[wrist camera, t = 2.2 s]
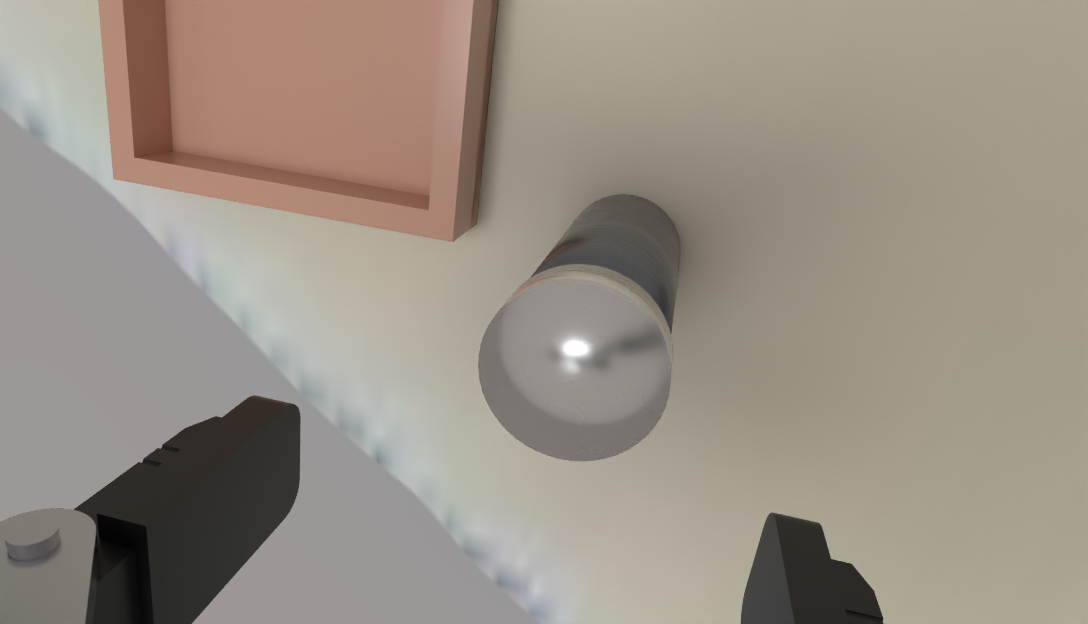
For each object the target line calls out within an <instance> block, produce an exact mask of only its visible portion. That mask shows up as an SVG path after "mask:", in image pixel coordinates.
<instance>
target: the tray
mask: <svg viewBox="0 0 1088 624" xmlns="http://www.w3.org/2000/svg"><path fill="white" fill-rule="evenodd" d="M98 2H99V14H100V26H101V37H102V49H103V61H104V73H105V84H106V96H107V108H108V120H109V131H110V143H111V155H112V167H113V178H114V179H116V180H122V181H127V182H132V183H138V184H143V185H149V186H154V187H159V188H165V189H170V190H176V191H181V192H186V193H192V194H197V195H203V196H208V197H213V198H219V199H224V200H230V201H235V202H240V203H246V204H251V205H257V206H262V207H267V208H273V209H278V210H284V211H289V212H294V213H300V214H305V215H311V216H316V217H322V218H327V219H332V220H338V221H343V222H349V223H354V224H359V225H365V226H370V227H376V228H381V229H386V230H392V231H397V232H403V233H408V234H413V235H419V236H424V237H430V238H435V239H440V240H446V241H451V242H453V241H454V240H456V239H457V238H458V237H460V236H461V235H462V234H464V233H465V232H467V231H468V230H469V229H471V228H472V227H473V226H475V225H476V222H477V212H478V202H479V192H480V182H481V172H482V161H483V151H484V141H485V131H486V121H487V111H488V101H489V90H490V80H491V70H492V60H493V50H494V40H495V29H496V19H497V9H498V0H98Z"/></svg>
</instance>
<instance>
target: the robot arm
mask: <svg viewBox="0 0 1088 624" xmlns="http://www.w3.org/2000/svg"><path fill="white" fill-rule="evenodd" d="M299 480H300V412H299V409H298V407H297V406H296V405H295V404H291V403H286V402H282V401H277V400H273V399H268V398H264V397H260V396H251V397H249V398H247V399H246V400H244V401H243V402H242V403H241V404H239V405H238V406H236V407H235V408H234V409H233V410H231V411H230V412H229V413H228V414H226V415H225V416H224V417H222V418H221V417H217V416H216V417H213V418H211V419H208V420H205V421H203V422H200V423H198V424H195V425H192V426H190V427H187V428H185V429H184V430H182V431H181V432H179V433H178V434H177V435H176V436H174V437H173V438H171V439H170V440H169V441H167V442H166V443H164V444H163V446H162V448H161V449H159V448H158V449H156V450H155V451H153V452H152V453H151V454H149V455H148V456H147V457H145V458H144V460H143V462H142V463H140V462H138V463H137V464H136V465H134V466H133V467H132V468H130V469H129V470H127V471H126V472H125V473H123V474H122V475H120V476H119V477H118V478H116V479H115V480H114V481H112V482H111V483H110V484H108V485H107V486H105V487H104V488H103V489H101V490H100V491H99V492H97V493H96V494H94V495H93V496H92V497H90V498H89V499H88V500H86V501H85V502H83V503H82V504H81V505H79V506H78V507H77V508H75V509H74V510H72V509H63V508H56V509H55V508H54V509H53V508H51V509H41V510H35V511H31V512H27V513H23V514H19V515H16V516H13V517H11V518H8V519H6V520H4V521H1V522H0V624H192V623H193V621H194V620H195V619H196V618H197V617H198V616H199V615H200V614H201V612H202V611H203V610H204V609H205V608H206V607H207V606H208V605H209V603H210V602H211V601H212V600H213V599H214V598H215V597H216V596H217V594H218V593H219V592H220V591H221V590H222V589H223V588H224V586H225V585H226V584H227V583H228V582H229V581H230V580H231V579H232V577H233V576H234V575H235V574H236V573H237V572H238V571H239V569H240V568H241V567H242V566H243V565H244V564H245V563H246V562H247V560H248V559H249V558H250V557H251V556H252V555H253V554H254V553H255V551H256V550H257V549H258V548H259V547H260V546H261V545H262V544H263V542H264V541H265V540H266V539H267V538H268V537H269V536H270V534H271V533H272V532H273V531H274V530H275V529H276V528H277V527H278V526H279V524H280V523H281V522H282V521H283V520H284V519H285V517H286V516H287V515H288V513H289V512H290V510H291V508H292V506H293V504H294V502H295V499H296V496H297V492H298V488H299ZM741 624H883V616H882V613H881V610H880V608H879V605H878V602H877V599H876V596H875V593H874V590H873V589H872V588H871V587H870V586H869V584H868V583H867V582H866V581H865V580H864V578H863V577H862V576H861V575H860V574H859V572H858V571H857V570H856V569H855V568H854V566H853V565H852V564H850V563H846V562H841V561H837V560H833V559H831V557H830V554H829V550H828V547H827V543H826V540H825V536H824V532H823V529H822V526H821V525H820V524H819V523H817V522H812V521H808V520H803V519H799V518H794V517H790V516H785V515H781V514H777V513H770V514H769V515H768V517H767V519H766V522H765V525H764V528H763V531H762V535H761V538H760V542H759V545H758V548H757V552H756V555H755V558H754V562H753V565H752V569H751V572H750V575H749V579H748V582H747V586H746V589H745V593H744V598H743V605H742V613H741Z"/></svg>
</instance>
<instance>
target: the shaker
mask: <svg viewBox="0 0 1088 624" xmlns="http://www.w3.org/2000/svg"><path fill="white" fill-rule="evenodd" d="M679 258H680V243H679V237H678V234H677V231H676V229H675V226H674V224H673V223H672V221H671V220H670V218H669V217H668V216H667V214H666V213H665V212H664V211H663V210H662V209H661V208H659V207H658V206H657V205H655V204H654V203H652V202H650V201H648V200H646V199H643V198H641V197H637V196H633V195H614V196H609V197H606V198H603V199H600V200H598V201H596V202H594V203H593V204H591V205H590V206H588V207H587V208H586V209H585V210H584V211H583V212H582V213H581V214H580V215H579V216H578V218H577V219H576V220H575V222H574V223H573V224H572V225H571V227H570V228H569V229H568V230H567V232H566V233H565V234H564V236H563V237H562V238H561V239H560V241H559V242H558V243H557V244H556V246H555V247H554V248H553V250H552V251H551V252H550V253H549V255H548V256H547V257H546V258H545V260H544V261H543V262H542V264H541V265H540V266H539V267H538V269H537V270H536V271H535V273H534V274H533V275H532V276H531V278H530V279H528V280H527V281H526V282H525V283H523V284H522V285H521V286H520V287H519V288H518V289H517V290H516V291H515V292H514V293H513V294H512V295H511V297H510V298H509V299H508V300H507V302H506V303H505V304H504V305H503V307H502V308H501V309H500V310H499V312H498V313H497V314H496V315H495V317H494V318H493V320H492V321H491V323H490V324H489V326H488V328H487V330H486V332H485V334H484V337H483V340H482V343H481V347H480V352H479V364H478V369H479V379H480V383H481V387H482V391H483V394H484V396H485V399H486V401H487V403H488V405H489V407H490V409H491V411H492V412H493V414H494V415H495V417H496V418H497V420H498V421H499V422H500V423H501V424H502V425H503V427H504V428H505V429H506V430H507V431H508V432H509V433H511V434H512V435H513V436H514V437H515V438H516V439H518V440H519V441H521V442H522V443H523V444H525V445H527V446H528V447H530V448H532V449H534V450H536V451H538V452H540V453H543V454H545V455H548V456H551V457H555V458H558V459H564V460H570V461H593V460H599V459H605V458H608V457H611V456H615V455H618V454H620V453H622V452H624V451H626V450H628V449H630V448H631V447H633V446H634V445H636V444H638V443H639V442H640V441H641V440H642V439H643V438H645V437H646V436H647V435H648V434H649V432H650V431H651V430H652V429H653V428H654V427H655V425H656V424H657V422H658V421H659V419H660V417H661V415H662V413H663V411H664V409H665V406H666V403H667V400H668V396H669V389H670V381H671V371H672V360H673V345H672V338H671V332H672V323H673V313H674V304H675V295H676V286H677V277H678V268H679Z"/></svg>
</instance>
